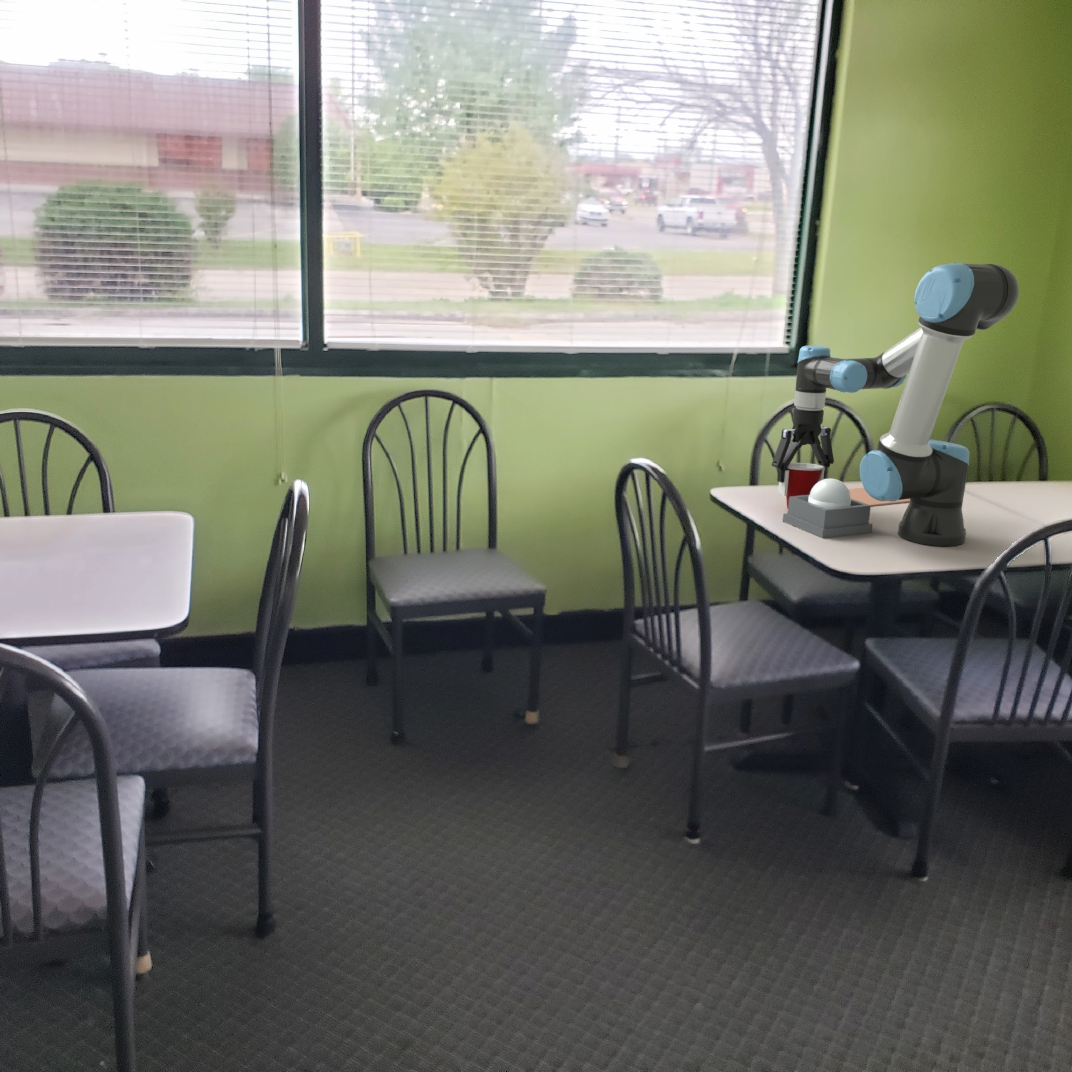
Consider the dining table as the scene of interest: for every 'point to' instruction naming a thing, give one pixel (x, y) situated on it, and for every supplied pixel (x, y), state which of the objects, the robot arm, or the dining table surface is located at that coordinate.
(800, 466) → the plastic cup
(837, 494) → the dome
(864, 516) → the dome housing
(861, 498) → the mat
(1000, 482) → the dining table surface
